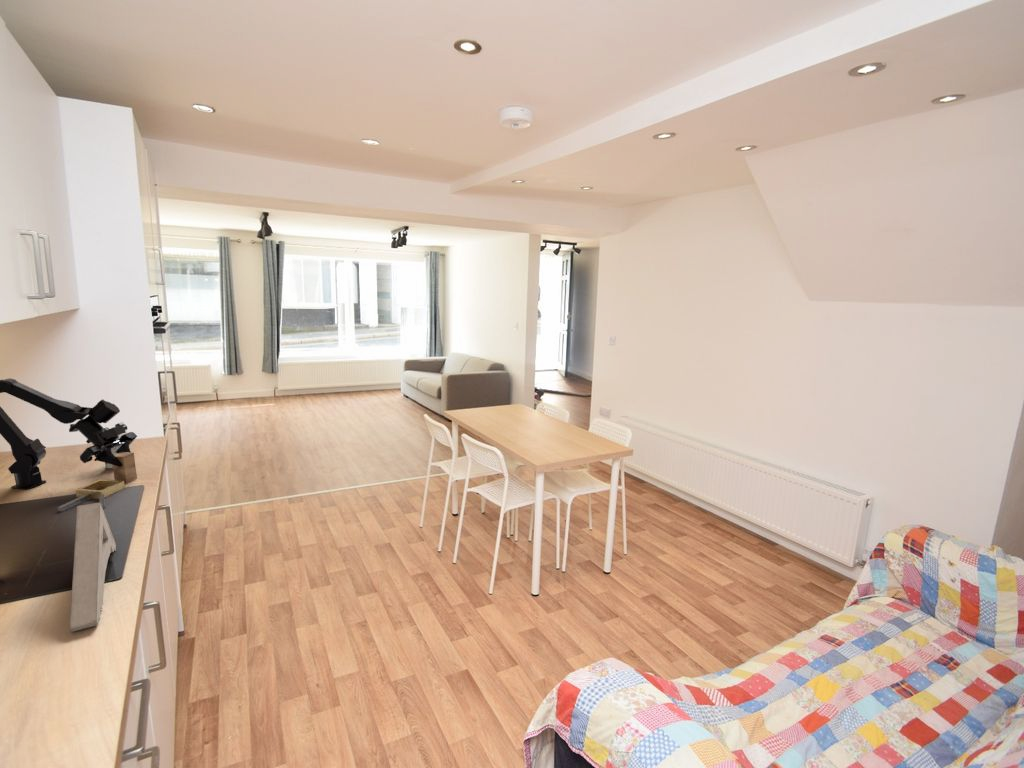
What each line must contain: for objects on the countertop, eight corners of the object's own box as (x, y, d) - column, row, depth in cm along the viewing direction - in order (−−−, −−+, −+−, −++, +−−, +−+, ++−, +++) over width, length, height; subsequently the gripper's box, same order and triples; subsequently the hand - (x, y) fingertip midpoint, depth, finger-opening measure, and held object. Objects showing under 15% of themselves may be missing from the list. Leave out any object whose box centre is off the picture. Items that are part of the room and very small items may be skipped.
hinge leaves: (46, 510, 156) (45, 503, 155) (101, 485, 174) (100, 479, 174) (91, 514, 155) (90, 506, 154) (141, 488, 173) (140, 482, 173)
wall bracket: (91, 662, 118) (95, 548, 135) (114, 655, 121) (115, 544, 137) (69, 629, 104) (77, 506, 120) (96, 621, 106) (100, 502, 123)
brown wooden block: (115, 482, 177) (111, 456, 175) (125, 477, 182) (122, 451, 180) (126, 483, 177) (123, 457, 175) (137, 478, 181) (133, 452, 179)
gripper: (82, 425, 166) (117, 458, 167) (129, 410, 184) (160, 441, 185) (64, 446, 168) (99, 479, 169) (112, 429, 186) (143, 459, 188)
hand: (127, 463), depth 178 cm, fingers closed on brown wooden block, 4 cm apart
